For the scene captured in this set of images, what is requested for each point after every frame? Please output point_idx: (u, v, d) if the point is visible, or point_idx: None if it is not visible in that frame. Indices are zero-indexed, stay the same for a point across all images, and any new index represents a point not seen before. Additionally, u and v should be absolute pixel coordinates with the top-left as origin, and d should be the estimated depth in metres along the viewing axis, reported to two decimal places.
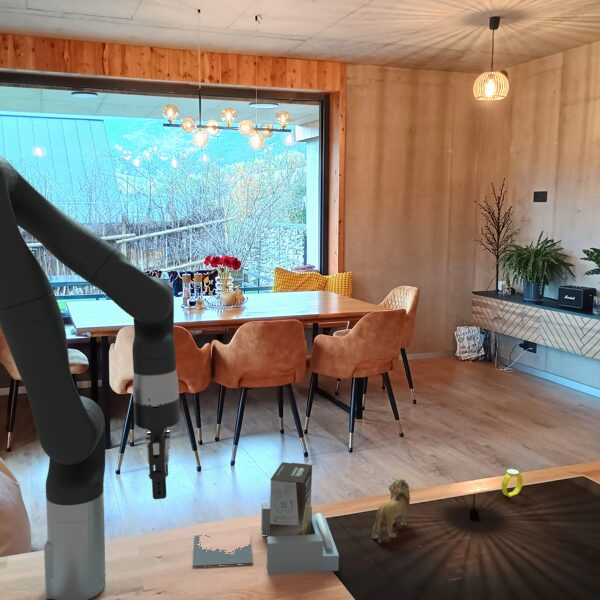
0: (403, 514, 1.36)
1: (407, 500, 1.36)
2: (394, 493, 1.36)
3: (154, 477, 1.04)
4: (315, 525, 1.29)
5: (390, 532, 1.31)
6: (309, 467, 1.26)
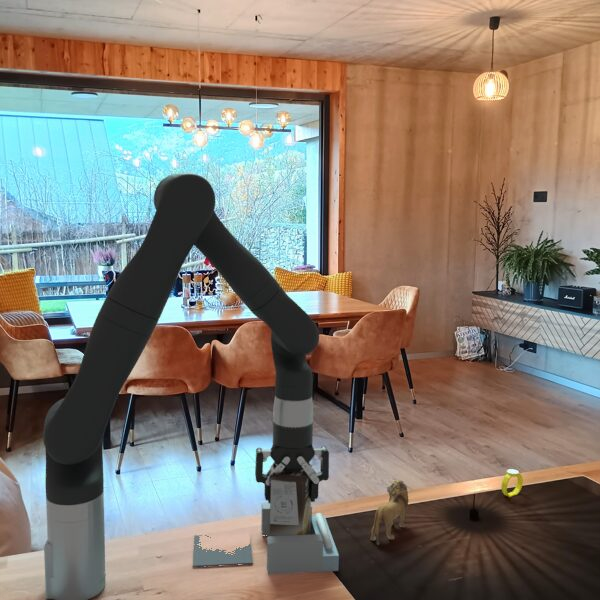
0: (401, 516, 1.35)
1: (405, 502, 1.35)
2: (392, 495, 1.35)
3: None
4: (315, 525, 1.29)
5: (389, 534, 1.30)
6: None
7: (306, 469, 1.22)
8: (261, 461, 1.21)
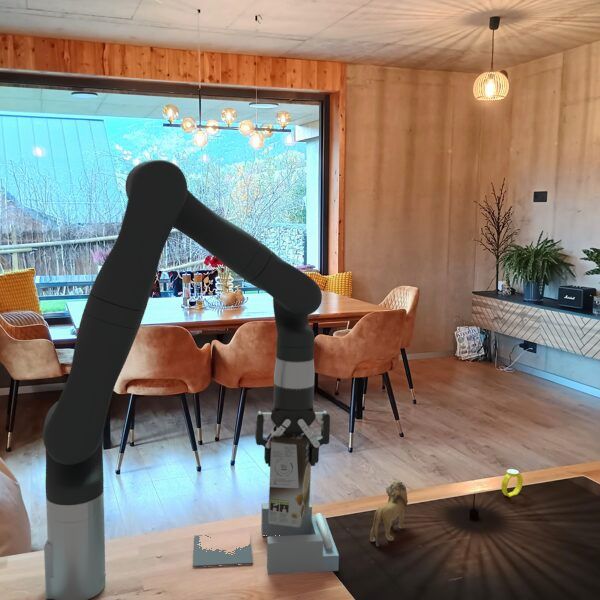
0: (401, 517, 1.34)
1: (405, 503, 1.34)
2: (392, 496, 1.35)
3: None
4: (315, 525, 1.29)
5: (388, 535, 1.29)
6: None
7: (307, 432, 1.21)
8: (261, 423, 1.20)
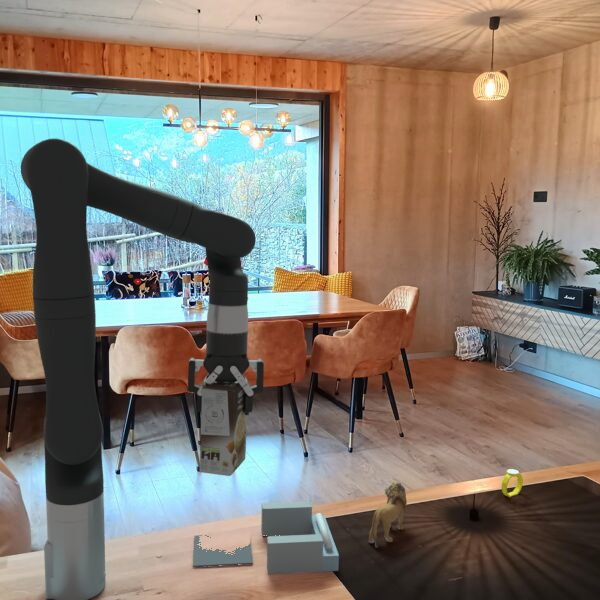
0: (400, 518, 1.34)
1: (404, 504, 1.34)
2: (390, 497, 1.34)
3: None
4: (315, 525, 1.29)
5: (387, 536, 1.29)
6: None
7: (239, 380, 1.19)
8: (193, 370, 1.18)
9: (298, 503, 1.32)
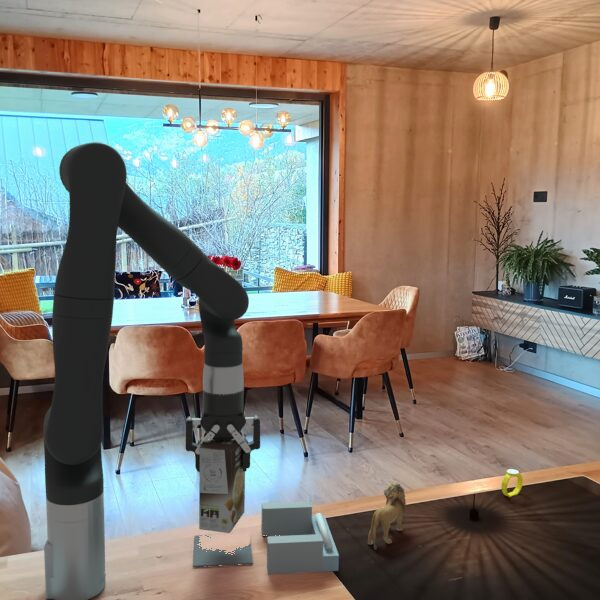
0: (399, 519, 1.33)
1: (403, 505, 1.33)
2: (389, 498, 1.34)
3: None
4: (315, 525, 1.29)
5: (386, 538, 1.28)
6: None
7: (236, 438, 1.20)
8: (190, 429, 1.19)
9: (298, 503, 1.32)
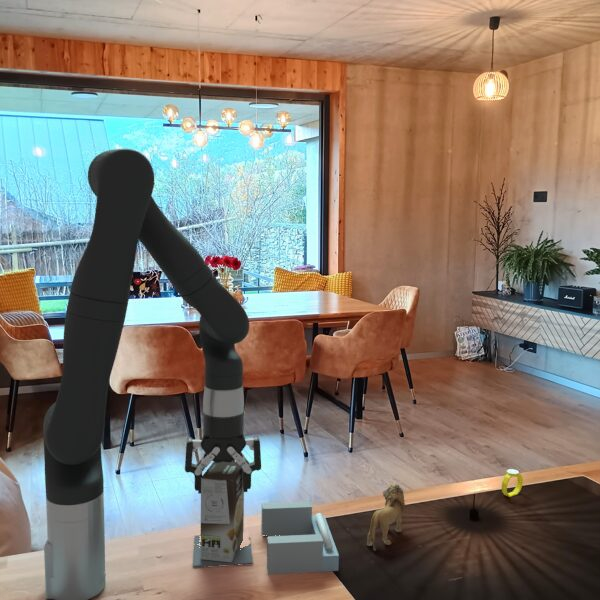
0: (398, 520, 1.33)
1: (402, 506, 1.33)
2: (389, 499, 1.33)
3: None
4: (315, 525, 1.29)
5: (385, 539, 1.28)
6: None
7: (237, 459, 1.21)
8: (190, 451, 1.20)
9: (298, 503, 1.32)
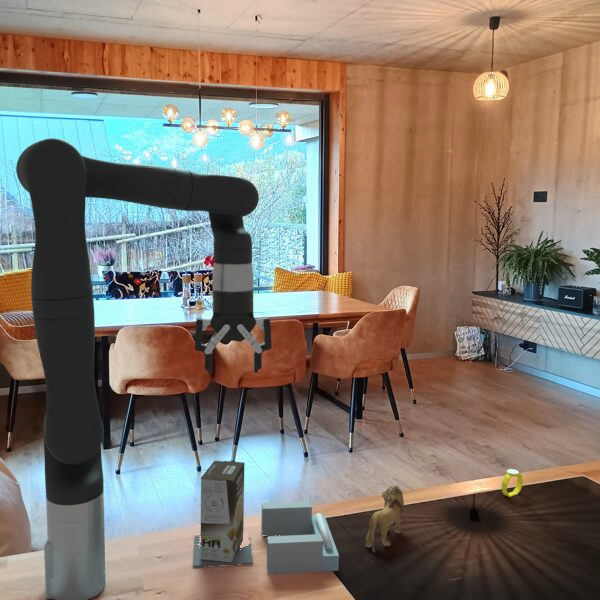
0: (397, 522, 1.32)
1: (401, 507, 1.32)
2: (388, 500, 1.33)
3: None
4: (315, 525, 1.29)
5: (384, 541, 1.27)
6: (242, 464, 1.25)
7: (247, 338, 1.20)
8: (200, 329, 1.19)
9: (298, 503, 1.32)
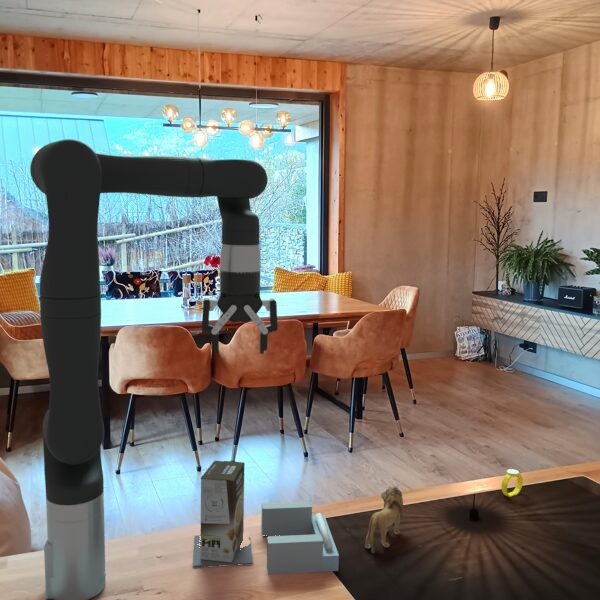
0: (396, 523, 1.32)
1: (400, 508, 1.32)
2: (387, 501, 1.32)
3: (276, 328, 1.24)
4: (315, 525, 1.29)
5: (383, 542, 1.27)
6: (242, 464, 1.25)
7: (254, 319, 1.21)
8: (207, 309, 1.21)
9: (298, 503, 1.32)
